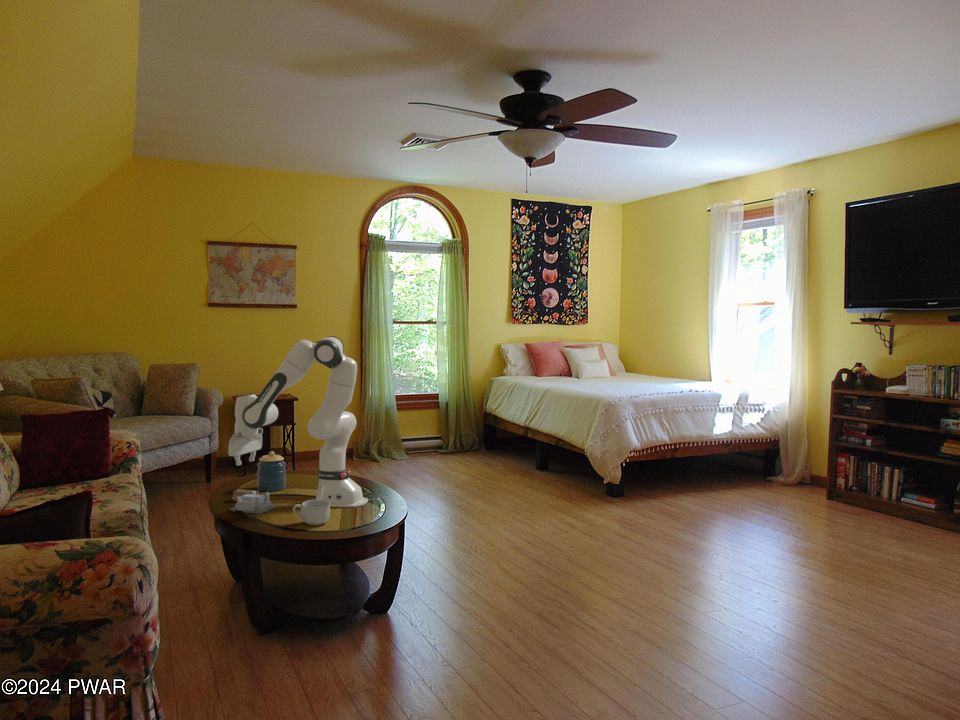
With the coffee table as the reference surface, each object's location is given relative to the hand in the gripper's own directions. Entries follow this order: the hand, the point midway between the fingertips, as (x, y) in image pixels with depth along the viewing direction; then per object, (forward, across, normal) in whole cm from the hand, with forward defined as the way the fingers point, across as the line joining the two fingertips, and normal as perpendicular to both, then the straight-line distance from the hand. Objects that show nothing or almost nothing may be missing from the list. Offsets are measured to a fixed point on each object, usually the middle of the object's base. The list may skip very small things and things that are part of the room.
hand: (245, 463), depth 288 cm
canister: (+17, +24, +2) cm, 29 cm away
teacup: (+16, -23, -44) cm, 52 cm away
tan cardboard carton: (+17, 0, 0) cm, 17 cm away
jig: (+16, -11, -11) cm, 23 cm away
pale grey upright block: (+15, -11, -11) cm, 22 cm away
